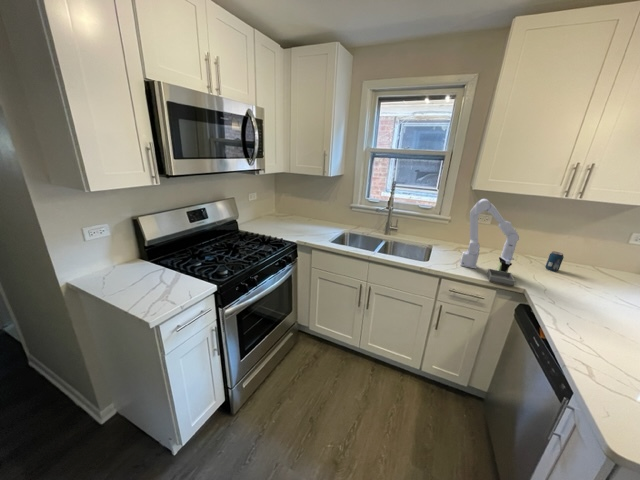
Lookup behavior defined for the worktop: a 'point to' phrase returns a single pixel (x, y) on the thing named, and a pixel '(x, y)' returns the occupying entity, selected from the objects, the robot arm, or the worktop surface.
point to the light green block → (500, 267)
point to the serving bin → (500, 277)
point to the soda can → (554, 261)
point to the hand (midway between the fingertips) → (502, 270)
